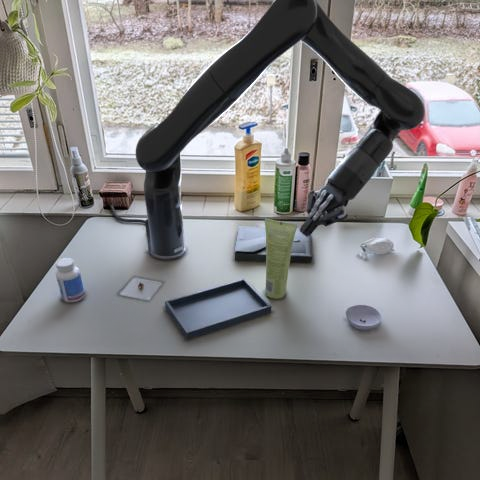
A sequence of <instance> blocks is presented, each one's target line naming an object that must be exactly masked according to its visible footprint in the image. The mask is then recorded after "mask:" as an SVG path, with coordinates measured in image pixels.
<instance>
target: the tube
mask: <svg viewBox="0 0 480 480" xmlns="http://www.w3.org/2000/svg"><path fill="white" fill-rule="evenodd" d="M264 227H265V229H266V261H265V264H266V265H265V295H266V296H267V297H268V298H270V299H282V298H283V297H285V295H286V293H287V284H288V277H289V270H290V264H291V262H290V257H291V251H292V246H293V241H294V236H295V232H296V229H297V228H298V224H296V223H291V222H285V221H280V220H275V219H271V218H264Z"/></svg>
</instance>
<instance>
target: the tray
mask: <svg viewBox="0 0 480 480" xmlns="http://www.w3.org/2000/svg"><path fill="white" fill-rule="evenodd" d="M164 307H165V309H166V312H167V313H168V314H169V315H170V316H171V318H172V320H173V321H174V322H175V324H176V326H177V327H178V328H179V330H180V331H181V333H182V334H183V336H184V337H185V339H186V340H190V339H194V338H197V337H201V336H204V335H206V334H210V333H213V332H216V331H218V330H221V329H224V328H227V327H231V326H234V325H237V324H240V323H243V322H247V321H249V320H253V319H255V318H258V317H262V316H265V315H267V314H271V313H272V305H271V304H270V303H269V302H268V300H267V299H265V298H264V297H263V296H262V295H261V294H260V292H259V291H257V289H256V288H254V287H253V286H252V284H251V283H250V282H249V281H248V280H247V279H246V278H245V277H244V278H241V279H237V280H233V281H230V282H227V283H223V284H219V285H216V286H212V287H210V288H206V289H203V290H199V291H195V292H192V293H188V294H186V295H182V296H179V297H178V296H177V297H175V298H171V299H168V300H165V301H164Z"/></svg>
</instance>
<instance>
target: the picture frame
mask: <svg viewBox="0 0 480 480" xmlns="http://www.w3.org/2000/svg"><path fill="white" fill-rule="evenodd" d="M300 228H301V227H297V229H296V232H295V236H294V241H293V246H292V251H291V257H290V263H295V264H296V263H297V264H313V246H312V234H311V235H309V236H308V237H306V236H305V235H304V234H302V233H301V232H300ZM237 229H238V230H237V235H236V242H235V246H234V261H243V262H244V261H247V262H248V261H249V262H266V229H265V226H250V225H249V226H248V225H247V226H245V225H238V228H237Z"/></svg>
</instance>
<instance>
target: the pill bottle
mask: <svg viewBox="0 0 480 480" xmlns="http://www.w3.org/2000/svg"><path fill="white" fill-rule="evenodd" d="M55 266H56V269H57V270H56V271H55V277H56V281H57V285H58V289H59V292H60V296H61V298H62V300H63V301H64V302H66V303H76V302H79V301H81V300H82V299H84V297H85V295H86V294H85V288H84V284H83V279H82V275H81V272H80V268H78V267H77V266H76V264H75V261H74V259H73V258H70V257H63V258H60V259H58V260H56V262H55Z"/></svg>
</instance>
